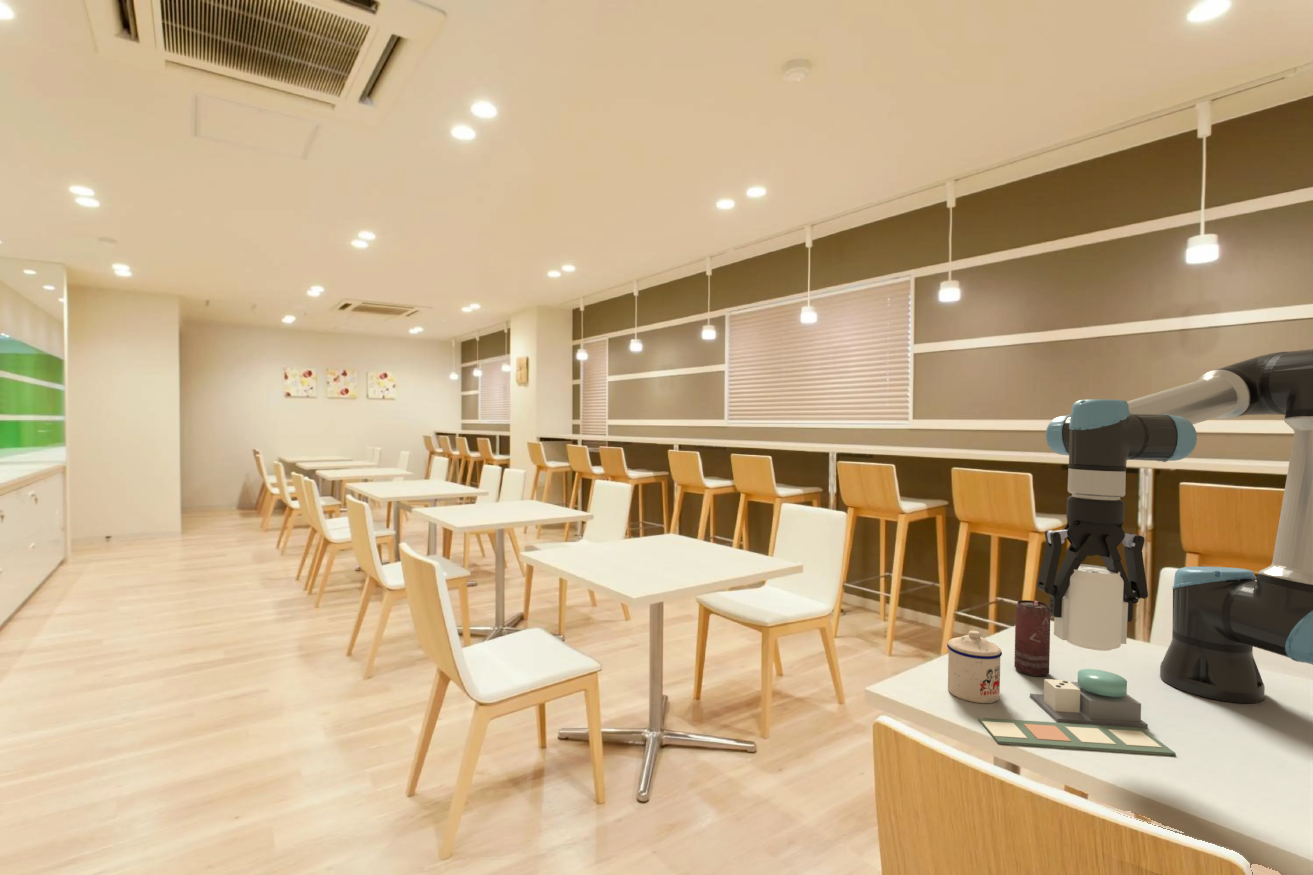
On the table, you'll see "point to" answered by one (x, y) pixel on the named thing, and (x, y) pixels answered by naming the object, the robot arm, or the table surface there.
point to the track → (1074, 736)
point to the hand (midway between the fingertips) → (1089, 638)
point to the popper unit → (1087, 706)
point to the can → (1032, 638)
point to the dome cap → (1102, 683)
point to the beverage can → (1095, 608)
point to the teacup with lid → (974, 668)
